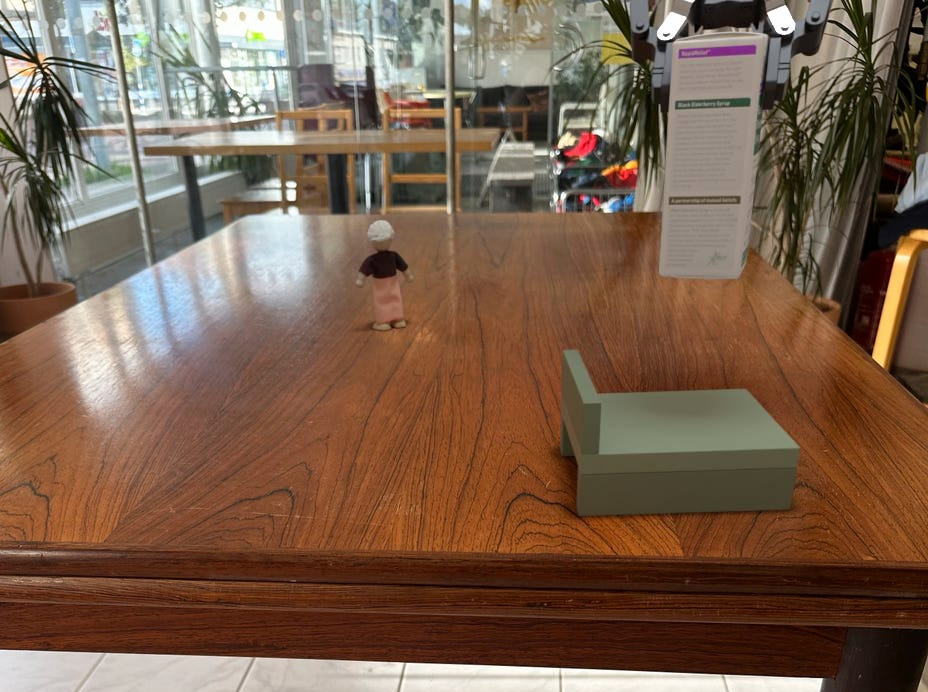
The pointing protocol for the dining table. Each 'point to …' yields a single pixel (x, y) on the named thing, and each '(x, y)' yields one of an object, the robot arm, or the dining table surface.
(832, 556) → the dining table surface
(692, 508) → the toy bed
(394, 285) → the grandmother figurine
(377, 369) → the dining table surface
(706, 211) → the syrup box
